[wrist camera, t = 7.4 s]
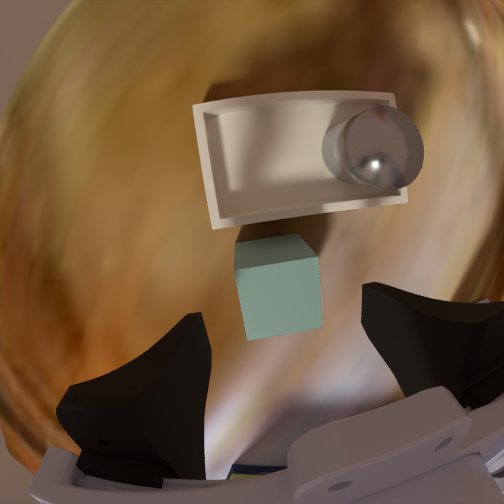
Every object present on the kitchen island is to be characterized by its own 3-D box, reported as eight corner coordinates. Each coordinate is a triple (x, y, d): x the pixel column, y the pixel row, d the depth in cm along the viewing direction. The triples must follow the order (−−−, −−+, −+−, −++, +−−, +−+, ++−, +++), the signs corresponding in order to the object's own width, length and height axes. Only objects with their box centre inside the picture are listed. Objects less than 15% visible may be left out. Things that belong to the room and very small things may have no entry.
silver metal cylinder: (373, 120, 15) (416, 107, 10) (382, 180, 16) (427, 185, 11) (316, 122, 15) (346, 105, 10) (326, 186, 16) (360, 193, 11)
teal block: (297, 233, 18) (318, 256, 13) (302, 289, 19) (322, 327, 14) (235, 242, 18) (234, 270, 13) (245, 299, 19) (247, 340, 14)
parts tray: (378, 100, 15) (393, 93, 13) (390, 198, 17) (407, 202, 15) (198, 113, 15) (192, 105, 13) (215, 222, 17) (212, 229, 15)
